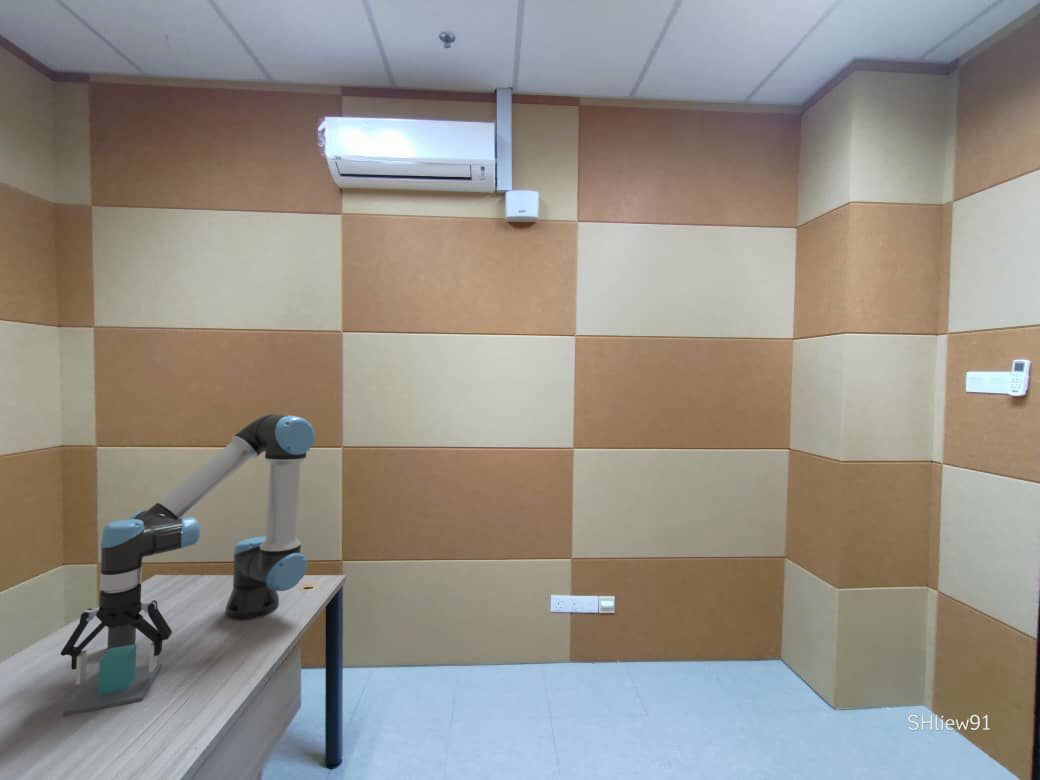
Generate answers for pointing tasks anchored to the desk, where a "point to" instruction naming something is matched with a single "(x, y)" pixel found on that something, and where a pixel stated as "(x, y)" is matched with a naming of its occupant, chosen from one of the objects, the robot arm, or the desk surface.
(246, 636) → the desk surface
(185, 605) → the desk surface
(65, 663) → the desk surface
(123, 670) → the teal rectangular block
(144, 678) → the stand
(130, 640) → the bottle
